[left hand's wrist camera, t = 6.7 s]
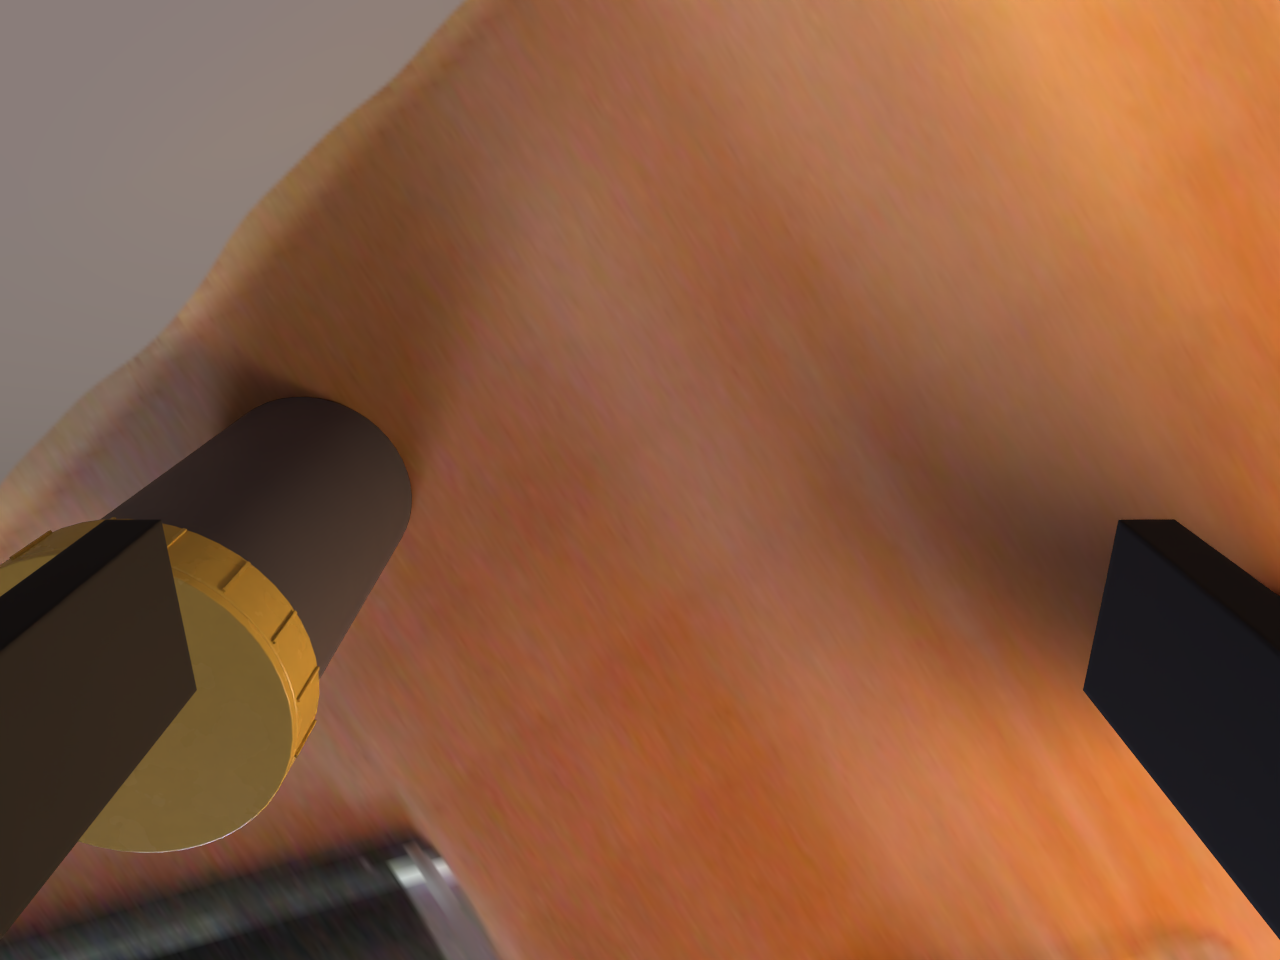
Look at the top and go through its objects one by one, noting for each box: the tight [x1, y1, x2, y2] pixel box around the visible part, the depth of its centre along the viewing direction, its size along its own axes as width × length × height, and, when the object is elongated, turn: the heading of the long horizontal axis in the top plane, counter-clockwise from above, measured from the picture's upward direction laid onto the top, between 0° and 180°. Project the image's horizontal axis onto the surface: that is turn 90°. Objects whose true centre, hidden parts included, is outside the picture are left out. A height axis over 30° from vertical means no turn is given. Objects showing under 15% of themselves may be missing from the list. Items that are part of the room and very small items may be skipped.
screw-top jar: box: [100, 397, 412, 679], centre depth 34 cm, size 9×9×17 cm
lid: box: [0, 517, 319, 853], centre depth 27 cm, size 10×10×2 cm
